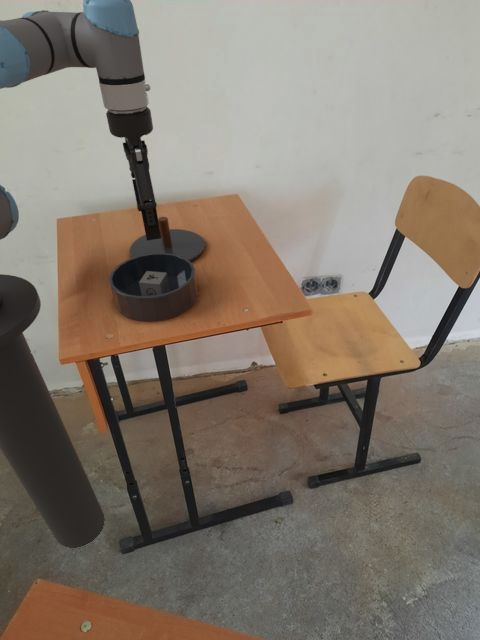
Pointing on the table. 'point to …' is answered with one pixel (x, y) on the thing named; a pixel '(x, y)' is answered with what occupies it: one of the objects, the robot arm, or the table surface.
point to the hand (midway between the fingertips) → (149, 223)
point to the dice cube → (154, 283)
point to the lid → (170, 242)
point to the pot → (157, 306)
